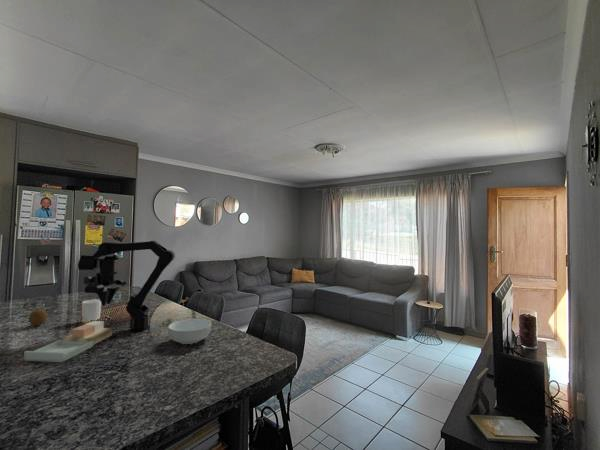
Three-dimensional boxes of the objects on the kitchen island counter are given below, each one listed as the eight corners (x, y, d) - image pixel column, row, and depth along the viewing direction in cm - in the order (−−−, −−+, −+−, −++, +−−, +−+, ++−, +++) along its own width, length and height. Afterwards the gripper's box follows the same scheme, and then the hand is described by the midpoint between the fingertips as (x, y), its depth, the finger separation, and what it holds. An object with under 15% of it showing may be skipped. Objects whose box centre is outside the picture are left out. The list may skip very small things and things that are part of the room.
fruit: (25, 327, 134) (26, 309, 134) (41, 323, 139) (42, 306, 140) (33, 329, 131) (33, 311, 131) (49, 324, 137) (50, 308, 137)
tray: (93, 346, 114) (93, 338, 114) (61, 362, 100) (62, 353, 100) (59, 344, 115) (60, 336, 115) (24, 360, 101) (24, 351, 101)
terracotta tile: (93, 332, 120) (93, 325, 120) (83, 337, 115) (84, 329, 115) (82, 332, 120) (82, 325, 120) (71, 336, 115) (72, 329, 115)
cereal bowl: (219, 337, 124) (219, 321, 125) (189, 352, 109) (190, 333, 109) (190, 331, 132) (190, 316, 132) (158, 344, 116) (158, 326, 117)
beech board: (111, 335, 125) (112, 328, 125) (91, 345, 114) (91, 338, 114) (85, 334, 126) (85, 327, 126) (62, 344, 115) (62, 337, 115)
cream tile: (103, 328, 125) (103, 321, 125) (94, 332, 120) (94, 325, 120) (92, 328, 125) (92, 321, 125) (83, 332, 120) (83, 324, 120)
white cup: (90, 324, 139) (91, 303, 139) (77, 323, 140) (77, 302, 140) (104, 319, 146) (105, 299, 146) (91, 318, 148) (92, 298, 148)
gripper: (105, 266, 140) (104, 299, 140) (72, 272, 121) (71, 309, 121) (127, 267, 139) (126, 299, 139) (97, 273, 121) (96, 310, 120)
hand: (106, 304), depth 130 cm, fingers open, 3 cm apart
